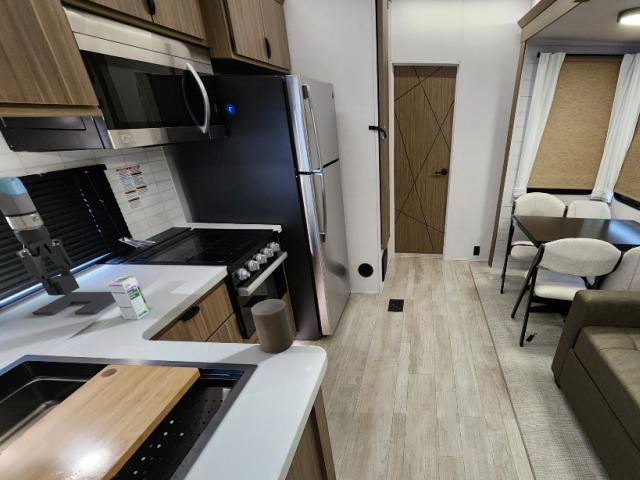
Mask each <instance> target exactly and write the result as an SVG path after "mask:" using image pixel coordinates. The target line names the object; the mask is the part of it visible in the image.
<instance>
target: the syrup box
mask: <svg viewBox="0 0 640 480" xmlns="http://www.w3.org/2000/svg"><path fill="white" fill-rule="evenodd" d="M106 285H107V287H108V289H109V292H111V293H112V295H113V297H114V299H115V301H116V302H115V303H116V305H117V307H118V309H119V311H120V313H121V316H122V317H123V319H124V320H140V319H141V318H143V317H144V316H146V315H148V314H149V313H151V310H150V307H149V305H148V303H147V301H146V298H145V296H144V293H143V292H142V290H141V287H140V285H139V282H138V280H137V278H136V277H135V276H130V275H129V276H128V275H127V276H125V275H124V276H123V275H122V276H119V277H118V278H115V279H114V280H112V281H109V282H107V283H106Z"/></svg>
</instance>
